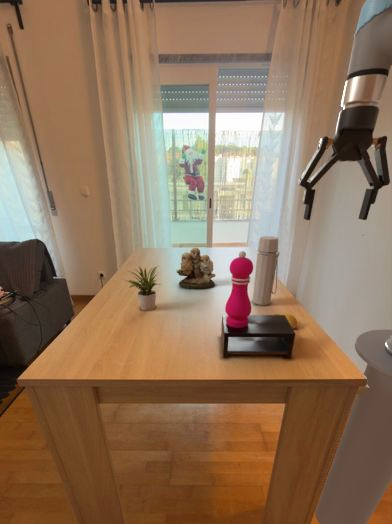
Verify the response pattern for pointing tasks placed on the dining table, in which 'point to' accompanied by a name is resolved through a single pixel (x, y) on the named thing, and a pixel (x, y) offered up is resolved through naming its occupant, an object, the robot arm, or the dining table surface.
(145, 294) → the house plant
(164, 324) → the dining table surface
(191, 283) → the owl figurine
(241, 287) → the pepper mill
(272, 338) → the rack
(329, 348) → the dining table surface
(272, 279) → the water bottle
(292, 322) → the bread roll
